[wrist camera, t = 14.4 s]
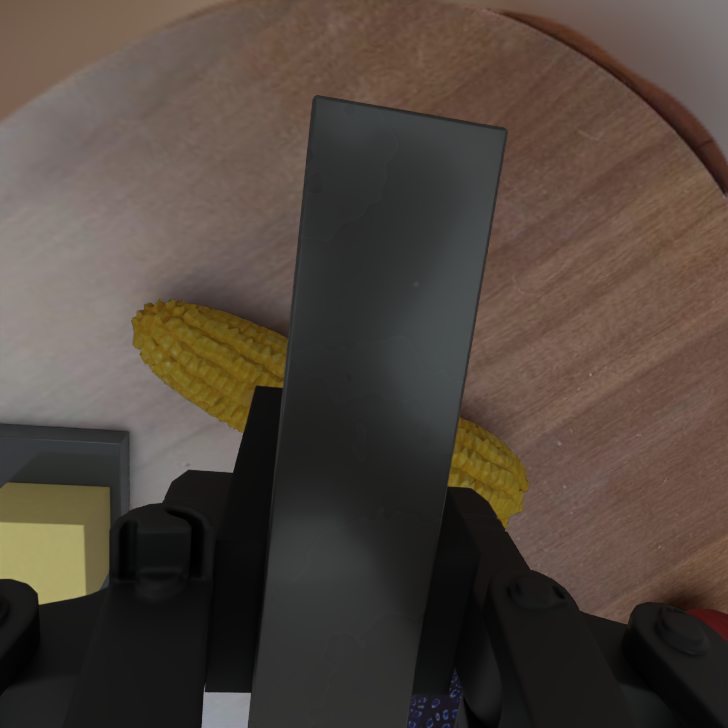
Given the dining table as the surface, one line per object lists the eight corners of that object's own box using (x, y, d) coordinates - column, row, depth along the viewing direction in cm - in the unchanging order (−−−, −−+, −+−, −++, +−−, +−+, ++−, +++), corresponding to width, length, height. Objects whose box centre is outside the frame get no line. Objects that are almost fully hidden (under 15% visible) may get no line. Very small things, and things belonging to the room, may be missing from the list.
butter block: (6, 481, 27) (-36, 521, 24) (110, 486, 28) (83, 525, 24) (13, 565, 28) (-26, 613, 25) (111, 567, 29) (87, 614, 26)
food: (514, 430, 31) (561, 481, 25) (466, 508, 32) (501, 573, 26) (165, 267, 26) (128, 285, 20) (124, 365, 27) (78, 408, 22)
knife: (305, 177, 13) (313, 93, 6) (401, 191, 13) (510, 127, 6) (229, 911, 17) (184, 1342, 10) (303, 908, 18) (305, 1323, 11)
